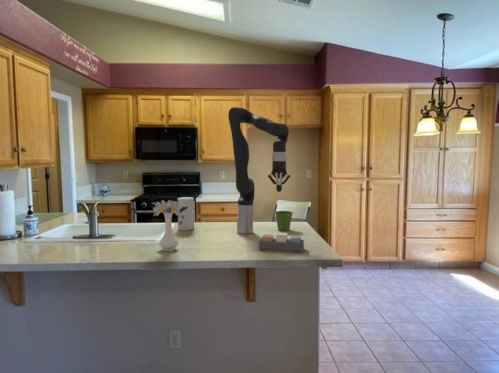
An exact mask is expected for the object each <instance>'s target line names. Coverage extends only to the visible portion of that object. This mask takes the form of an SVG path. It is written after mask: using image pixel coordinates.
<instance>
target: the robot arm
mask: <svg viewBox="0 0 499 373" xmlns="http://www.w3.org/2000/svg"><path fill="white" fill-rule="evenodd" d="M227 114H228V115H227V116H228V117H227V118H228V123H229V127H230V131H231V138H232V139H231V140H232V149H233V150H232V151H233V157H234V166H235V187H236V190H237V192H238V193H239V197H238V199H237V217H236V234H242V235H248V234H249V235H251V234H253V233H254V200H255V183H254V180H253V179H252V178H250V177H249V173H248V171H249V170H248V169H249V168H248V167H249V161H250V147H249V143H248V141H247V139H246V137H245V135H244V134H243V131H242V127H241V124H250V125H252V126H254V127H255V128H256V129H257V130H260V131H263V132H266V133H267V134H269V135H271V136H273V137H277V139H276V140H275V141H273V143H272V158H271V159H272V167H271V168H272V170H271V172H270V174H267V177H268V178H269V180H270V181H271V183H272V184H274V185H275V186H276V187H275V188H276V190H275V191H277V193H280V192H281V191H282V190H283V185H284V184H286V183H287V181H288V180H290V178H291V174H289V173H288V171H287V142H288V138H289V133H290V132H289V127H288V125H287V124H285V123H278V122H274V121H273V120H271V119H269V118H266V117H263V116H260V115H257V114H255V113H253V112H251V111H249V110H248V109H246V108H244V107H241V106H239V107H237V106H232V107H231V108H230V109H229V110H228V113H227ZM273 177H274V178H275V179H274V178H273ZM285 177H286V178H285ZM284 178H285V179H284Z"/></svg>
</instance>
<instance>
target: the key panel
mask: <svg viewBox="0 0 499 373" xmlns="http://www.w3.org/2000/svg"><path fill="white" fill-rule="evenodd" d="M258 251H264V252H266V251H267V252H280V253H281V252H283V253H299V254H300V253H301V254H303V253H304V251H305V239H301V243H290V239H289V238H287V243H285V242H276V238H274V242H265V241H262V237H261V238H260V240H259V241H258Z"/></svg>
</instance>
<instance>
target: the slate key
mask: <svg viewBox="0 0 499 373" xmlns="http://www.w3.org/2000/svg"><path fill="white" fill-rule="evenodd" d="M301 240H302V236H301V235H291V236H290V243H301Z"/></svg>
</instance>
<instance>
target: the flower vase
mask: <svg viewBox="0 0 499 373" xmlns="http://www.w3.org/2000/svg"><path fill="white" fill-rule="evenodd" d="M155 203H156V204H155V207H152V211H153V213H154V214H153V217H155V216H156V217H158V216H159V215H160V214H161V213H163V215H164V222H165V224H164V226H165V228H164V234H163V236H162V237H161V238H160V239H159V243H158V245H159V246H160V248H161V249H162V251H164V252H172V251H175V250H176V248H177V246H178V245H179V240H178V238H176V237H175V235H174V233H173V228H172V227H173V226H172V225H173V224H172V217H173V214H175V215H176V216H177V217H178V216H179V213H181V212H180V211H179V210H180V209H182V207H181V206H179V205H178V201H175V200H170V199H169V200H168V201H165V200H161V201H156V202H155Z"/></svg>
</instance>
